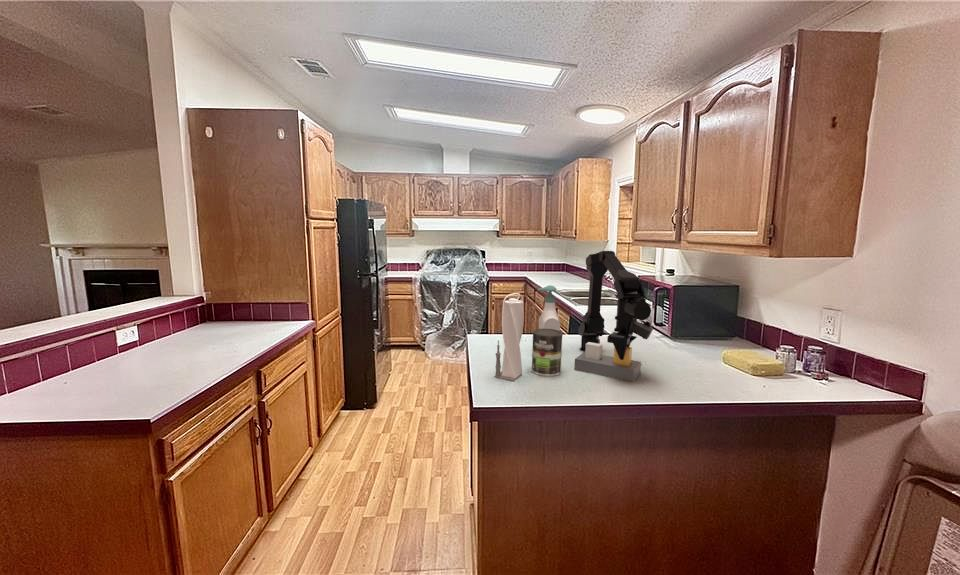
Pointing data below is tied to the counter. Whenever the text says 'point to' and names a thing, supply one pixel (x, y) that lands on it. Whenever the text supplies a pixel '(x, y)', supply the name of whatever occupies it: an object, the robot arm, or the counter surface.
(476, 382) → the counter surface
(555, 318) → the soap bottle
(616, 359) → the amber plug
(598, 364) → the block
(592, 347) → the white rectangular block
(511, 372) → the skyscraper
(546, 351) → the coffee can
